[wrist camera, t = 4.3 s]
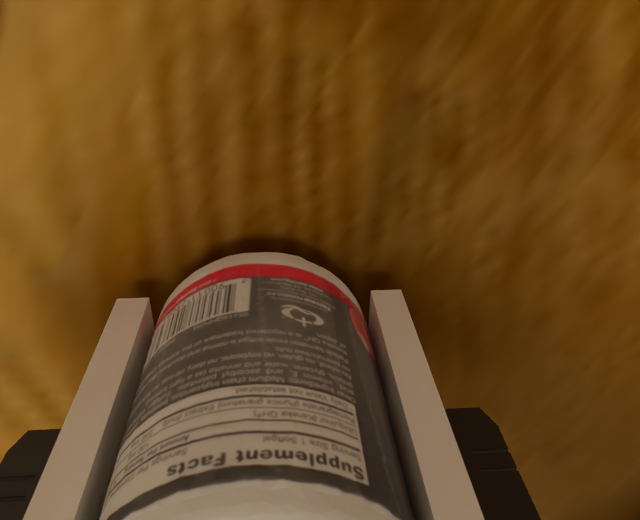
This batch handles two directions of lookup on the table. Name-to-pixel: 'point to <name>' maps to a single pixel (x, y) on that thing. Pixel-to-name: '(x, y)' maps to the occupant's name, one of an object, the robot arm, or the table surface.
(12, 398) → the table surface
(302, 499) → the pill bottle
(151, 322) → the robot arm
